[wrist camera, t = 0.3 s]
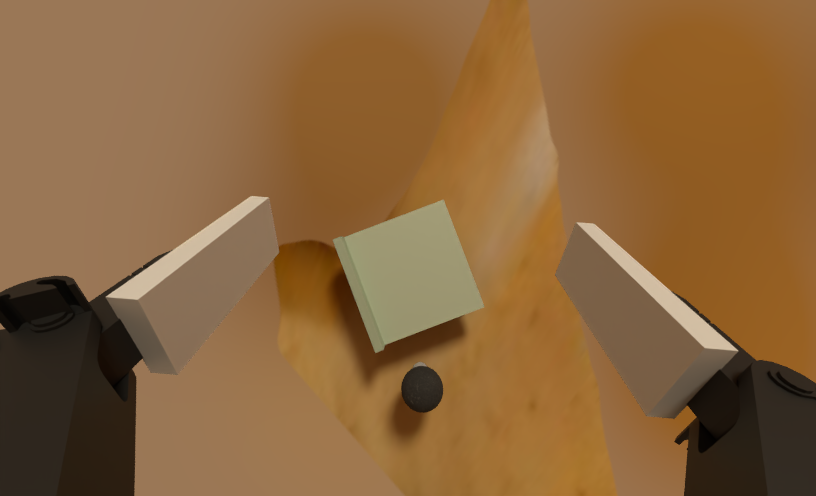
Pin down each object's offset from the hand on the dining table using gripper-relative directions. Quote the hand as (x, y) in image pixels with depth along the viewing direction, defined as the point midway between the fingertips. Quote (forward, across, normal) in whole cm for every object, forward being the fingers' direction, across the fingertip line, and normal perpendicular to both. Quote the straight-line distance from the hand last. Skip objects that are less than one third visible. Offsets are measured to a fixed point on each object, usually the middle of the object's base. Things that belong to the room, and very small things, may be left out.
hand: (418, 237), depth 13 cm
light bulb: (+19, -3, +34) cm, 39 cm away
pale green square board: (+23, 0, +18) cm, 29 cm away
